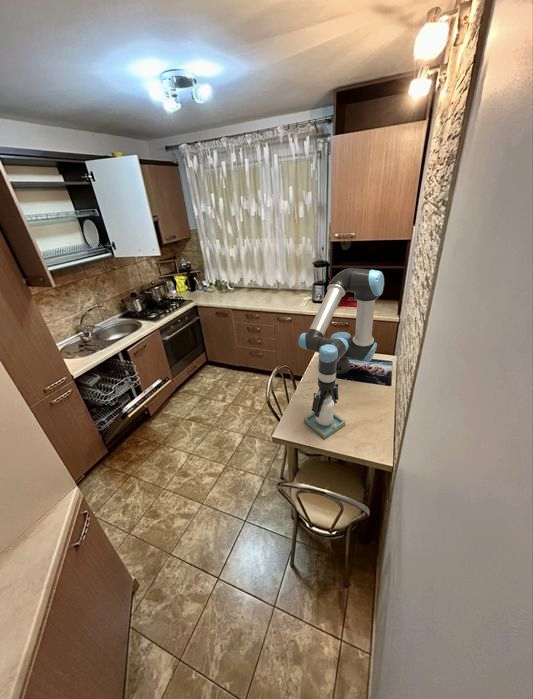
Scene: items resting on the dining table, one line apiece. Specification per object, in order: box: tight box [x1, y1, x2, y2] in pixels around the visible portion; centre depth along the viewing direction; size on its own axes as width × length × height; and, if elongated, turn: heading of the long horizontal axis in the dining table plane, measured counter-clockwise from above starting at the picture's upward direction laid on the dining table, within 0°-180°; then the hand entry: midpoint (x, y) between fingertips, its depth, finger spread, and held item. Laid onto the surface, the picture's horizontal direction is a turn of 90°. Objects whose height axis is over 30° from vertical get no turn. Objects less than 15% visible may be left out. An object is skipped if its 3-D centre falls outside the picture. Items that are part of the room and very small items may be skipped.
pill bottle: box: [317, 395, 335, 425], centre depth 131 cm, size 8×8×15 cm
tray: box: [303, 412, 346, 440], centre depth 134 cm, size 14×14×4 cm
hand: (324, 416), depth 133 cm, fingers closed on pill bottle, 8 cm apart
